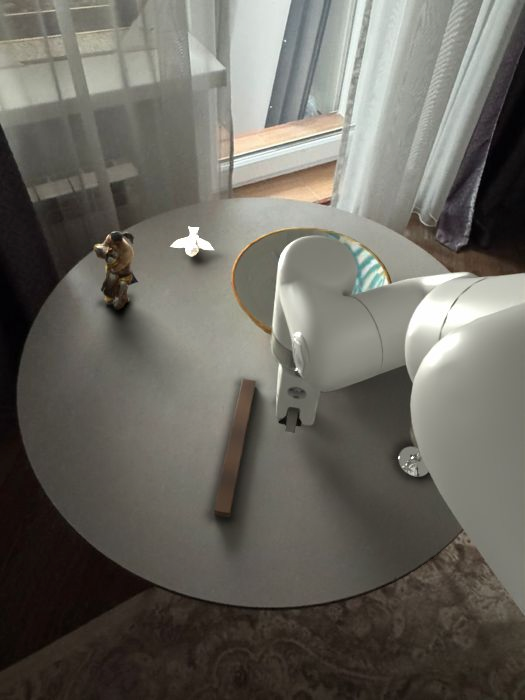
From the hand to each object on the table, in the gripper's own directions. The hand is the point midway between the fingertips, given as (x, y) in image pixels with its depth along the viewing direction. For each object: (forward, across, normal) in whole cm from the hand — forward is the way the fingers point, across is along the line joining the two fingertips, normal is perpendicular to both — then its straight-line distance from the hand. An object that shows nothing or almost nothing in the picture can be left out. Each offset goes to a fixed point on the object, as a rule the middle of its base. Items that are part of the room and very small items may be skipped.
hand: (290, 420), depth 71 cm
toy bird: (+2, +33, +22) cm, 39 cm away
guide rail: (+1, -4, +7) cm, 8 cm away
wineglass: (+2, -3, -18) cm, 18 cm away
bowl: (+2, +22, 0) cm, 22 cm away
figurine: (+2, +18, +30) cm, 35 cm away
